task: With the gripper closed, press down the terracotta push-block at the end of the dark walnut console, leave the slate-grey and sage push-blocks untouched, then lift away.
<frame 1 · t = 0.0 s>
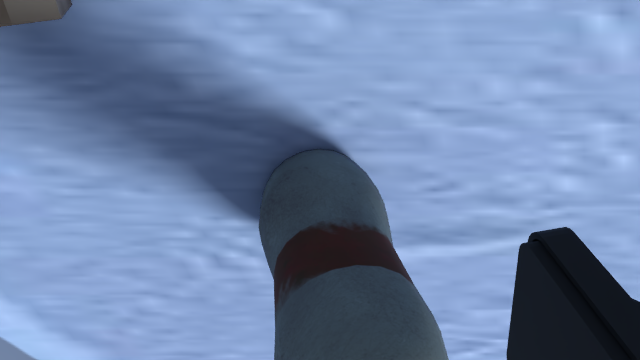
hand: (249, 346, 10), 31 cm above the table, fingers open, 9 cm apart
bottle: (314, 192, 46), on the table
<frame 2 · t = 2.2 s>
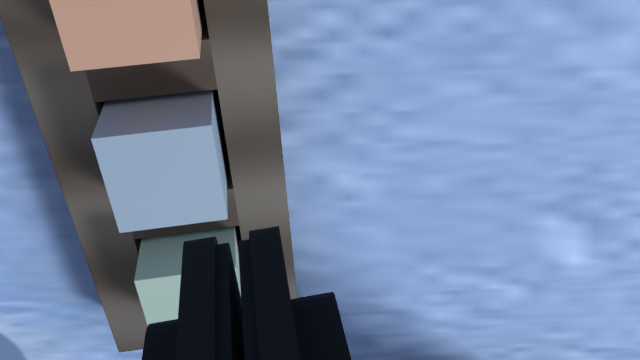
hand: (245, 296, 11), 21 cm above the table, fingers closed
sage button: (195, 280, 32), point 4 cm above the table, slide at 0.0 cm
console: (172, 120, 31), on the table
slate button: (167, 156, 28), point 4 cm above the table, slide at 0.0 cm
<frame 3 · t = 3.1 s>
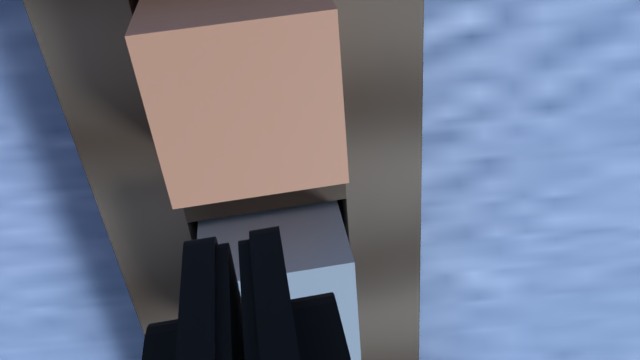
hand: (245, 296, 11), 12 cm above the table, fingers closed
console: (271, 222, 25), on the table
slate button: (279, 283, 21), point 4 cm above the table, slide at 0.0 cm
terracotta button: (245, 81, 17), point 4 cm above the table, slide at 0.0 cm
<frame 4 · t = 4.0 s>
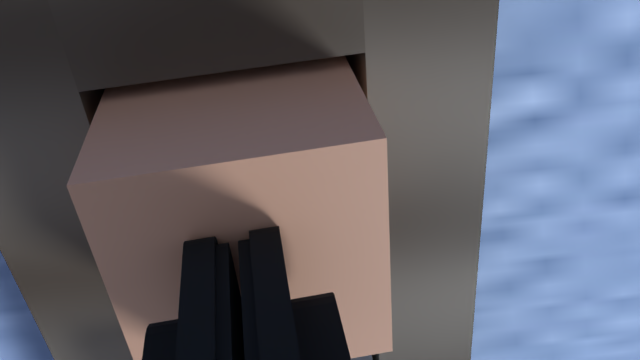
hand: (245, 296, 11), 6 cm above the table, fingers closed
console: (279, 338, 20), on the table
terracotta button: (248, 208, 12), point 4 cm above the table, slide at 0.1 cm, touching gripper
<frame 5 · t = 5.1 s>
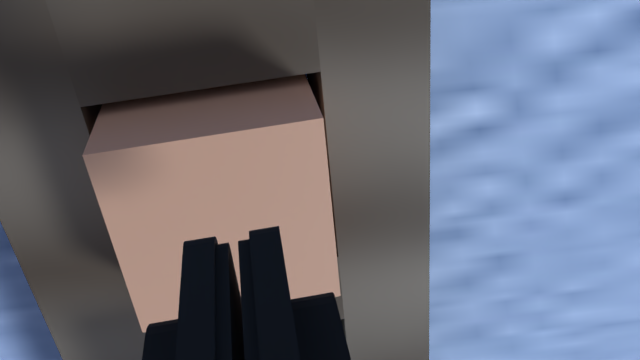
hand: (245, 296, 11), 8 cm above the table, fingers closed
console: (259, 332, 22), on the table
terracotta button: (223, 184, 15), point 3 cm above the table, slide at 1.1 cm
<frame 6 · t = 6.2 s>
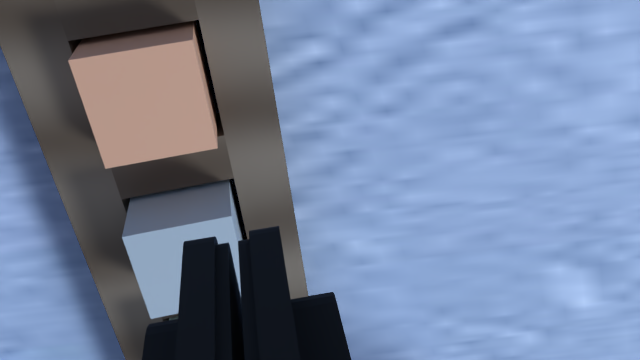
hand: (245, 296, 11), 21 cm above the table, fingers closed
sage button: (222, 354, 34), point 4 cm above the table, slide at 0.0 cm
console: (192, 204, 33), on the table
slate button: (190, 242, 30), point 4 cm above the table, slide at 0.0 cm
terracotta button: (151, 88, 27), point 3 cm above the table, slide at 1.1 cm
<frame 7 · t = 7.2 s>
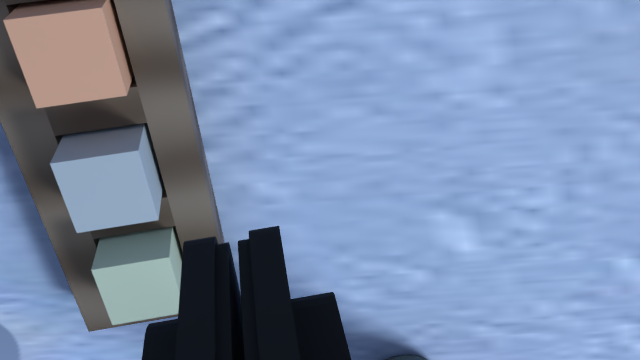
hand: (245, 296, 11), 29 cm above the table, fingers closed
sage button: (143, 270, 41), point 4 cm above the table, slide at 0.0 cm
console: (119, 146, 40), on the table
slate button: (111, 173, 37), point 4 cm above the table, slide at 0.0 cm
terracotta button: (76, 46, 34), point 3 cm above the table, slide at 1.1 cm
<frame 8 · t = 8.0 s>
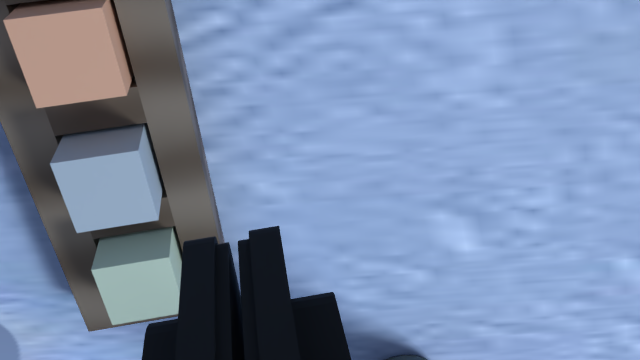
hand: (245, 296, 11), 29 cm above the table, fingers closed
sage button: (143, 270, 41), point 4 cm above the table, slide at 0.0 cm
console: (119, 146, 40), on the table
slate button: (111, 173, 37), point 4 cm above the table, slide at 0.0 cm
terracotta button: (76, 46, 34), point 3 cm above the table, slide at 1.1 cm
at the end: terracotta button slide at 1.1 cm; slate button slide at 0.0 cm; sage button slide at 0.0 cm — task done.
